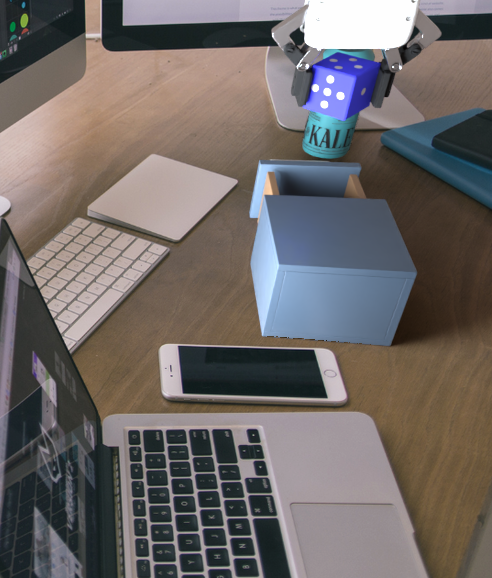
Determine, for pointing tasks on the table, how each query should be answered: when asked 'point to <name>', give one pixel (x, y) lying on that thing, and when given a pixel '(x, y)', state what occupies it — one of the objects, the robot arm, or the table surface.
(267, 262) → the cabinet
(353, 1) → the robot arm
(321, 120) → the beverage bottle
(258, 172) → the drawer
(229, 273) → the table surface
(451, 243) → the table surface
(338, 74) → the die
